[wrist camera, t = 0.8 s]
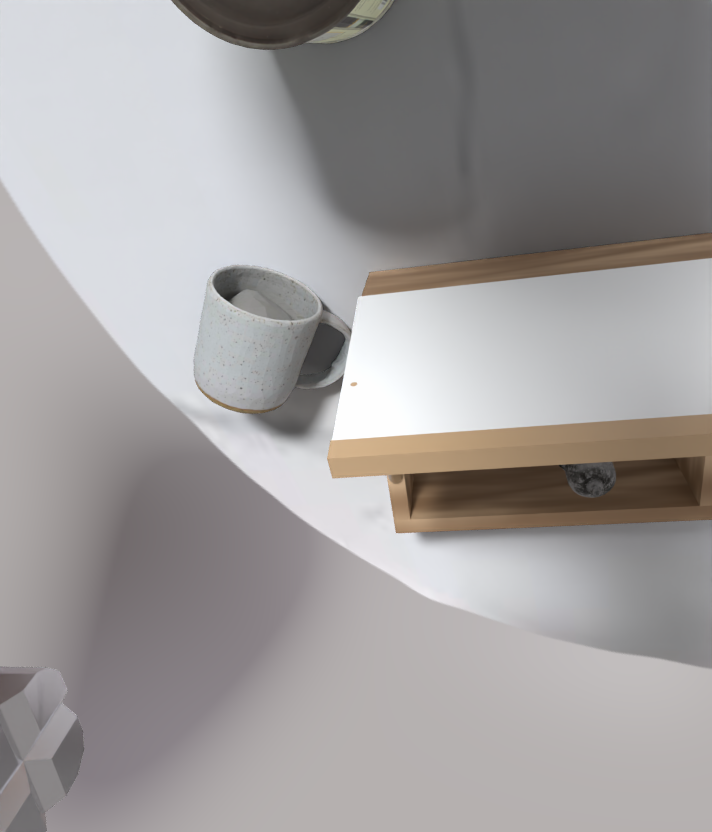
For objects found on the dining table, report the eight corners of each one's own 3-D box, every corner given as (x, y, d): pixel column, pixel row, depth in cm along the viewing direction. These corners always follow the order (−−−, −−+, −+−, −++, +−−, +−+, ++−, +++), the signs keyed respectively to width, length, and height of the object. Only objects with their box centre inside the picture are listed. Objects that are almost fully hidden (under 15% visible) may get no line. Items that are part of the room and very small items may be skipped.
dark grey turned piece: (560, 346, 47) (591, 434, 36) (625, 388, 48) (674, 486, 37) (508, 406, 50) (523, 503, 39) (571, 445, 51) (602, 550, 40)
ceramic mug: (206, 353, 50) (171, 402, 44) (228, 253, 46) (193, 290, 40) (339, 397, 51) (324, 451, 45) (372, 301, 47) (361, 346, 40)
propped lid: (359, 293, 41) (317, 412, 28) (748, 250, 37) (909, 366, 24) (388, 478, 47) (365, 644, 34) (721, 459, 43) (837, 638, 30)
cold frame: (369, 272, 46) (359, 302, 41) (713, 232, 42) (751, 260, 37) (401, 486, 54) (396, 533, 49) (689, 469, 50) (717, 519, 45)
